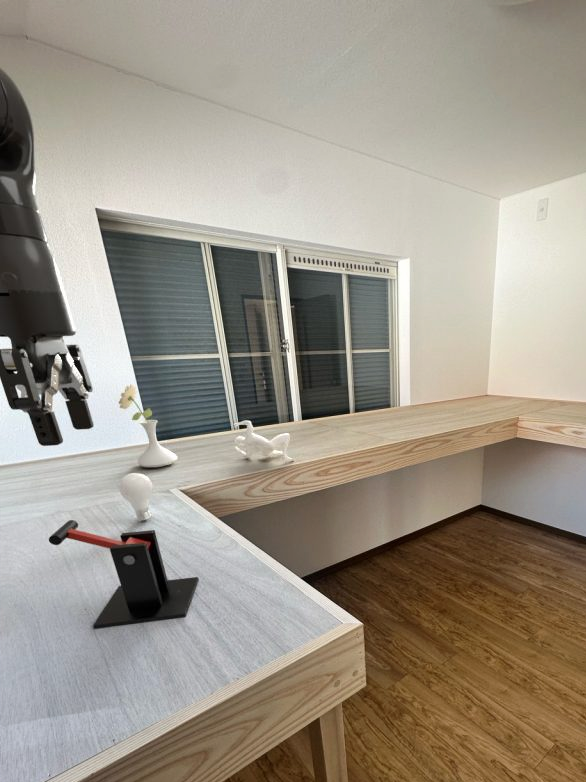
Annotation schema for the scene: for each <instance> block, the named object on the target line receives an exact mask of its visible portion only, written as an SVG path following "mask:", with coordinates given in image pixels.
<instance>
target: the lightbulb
mask: <svg viewBox="0 0 586 782" xmlns="http://www.w3.org/2000/svg"><path fill="white" fill-rule="evenodd" d="M153 491H154V486H153V482H152V481H151V479H150V478H149V477H148V476H147V475H145V474H143V473H139V472H132V473H128V474H126V475H124V476H122V478H121V479H120V480H119V482H118V492H119V493H120V495H121V497H122V498H123V499H124V500H126V501H127V502H128V503H129V504H130V505H131V507H132V508H133V510H134V512H135V515H136V518H137V520H138V521H141V522H147V521H148V520H149V519H151V517H152V514H151V512H150V508H149V506H150V499H151V496H152V494H153Z"/></svg>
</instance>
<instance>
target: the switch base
mask: <svg viewBox="0 0 586 782" xmlns="http://www.w3.org/2000/svg"><path fill="white" fill-rule="evenodd" d="M119 537H120V541H122V542H127V540H128V539H129V538H130V537H132V538H136V539H140V540H144V541H147V542H151V543H150V547H149V550H148V547H147V543H135V544H125V545H115V546H112V547H111V548H109V552H110V555H111V558H112V561H113V564H114V567H115V571H116V574H117V578H118V580H119V584H120V585H118V586H117V588H116V589H115V591H114V593H113V594H112V595H111V597H110V598H109V600H108V602H107V603H106V605H105V606H104V607H103V609H102V610H101V612H100V614H99V615H98V617H97V619H96V620H95V621H94V623H93V624H92V627H93V630H98V629H104V628H105V629H106V628H113V627H119V626H121V627H122V626H127V625H128V626H129V625H134V624H135V625H137V624H143V623H152V622H159V621H165V620H173V619H182V618H186V617H187V614H188V612H189V609H190V607H191V603H192V601H193V597H194V595H195V593H196V590H197V587H198V584H199V576H194V577H185V578H176V579H175V578H174V579H168V577H167V572H166V569H165V568H166V567H165V566H164V562H163V561H164V560H163V557H162V553H161V550H160V546H159V542H158V537H157V534H156V530H155V529H150V530H140V531H139V530H138V531H129V532H122V533H121V534H120V535H119Z"/></svg>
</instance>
